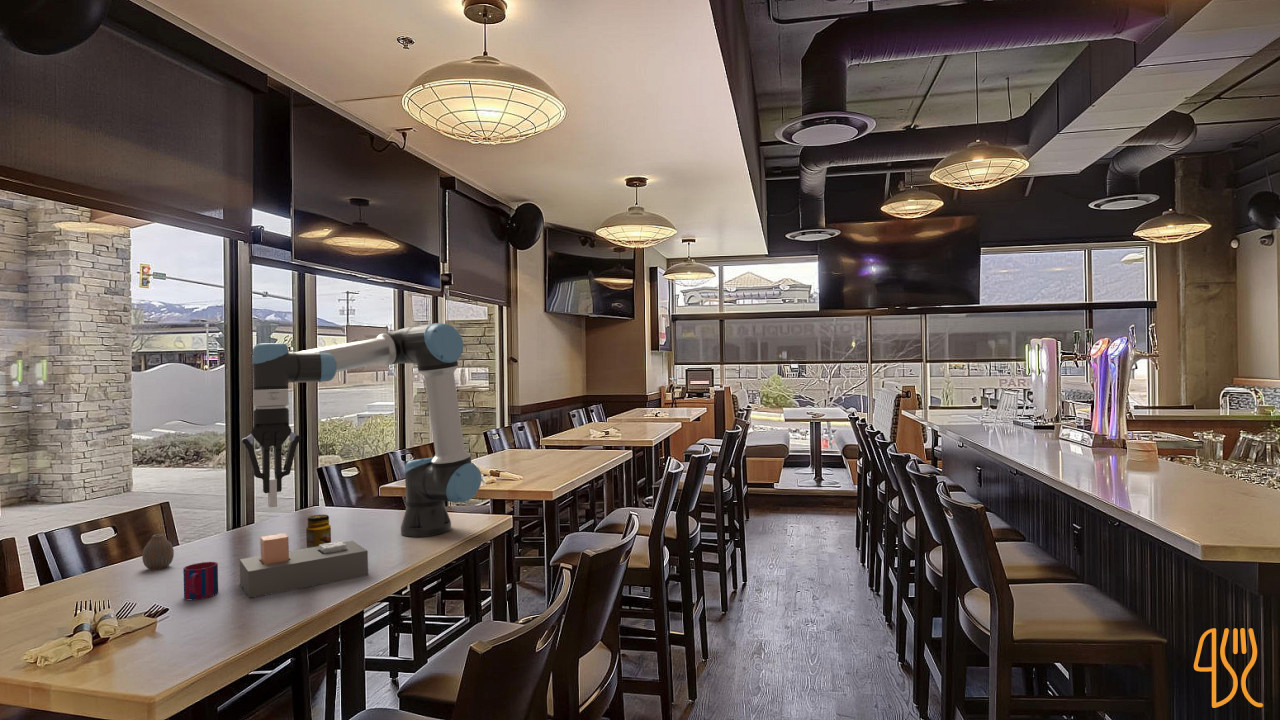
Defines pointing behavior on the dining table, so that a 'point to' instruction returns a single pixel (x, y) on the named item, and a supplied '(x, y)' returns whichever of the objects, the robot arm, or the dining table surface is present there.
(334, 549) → the white block
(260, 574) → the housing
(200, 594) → the mug
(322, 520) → the condiment
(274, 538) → the tan rectangular block
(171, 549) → the vase
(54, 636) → the dining table surface
